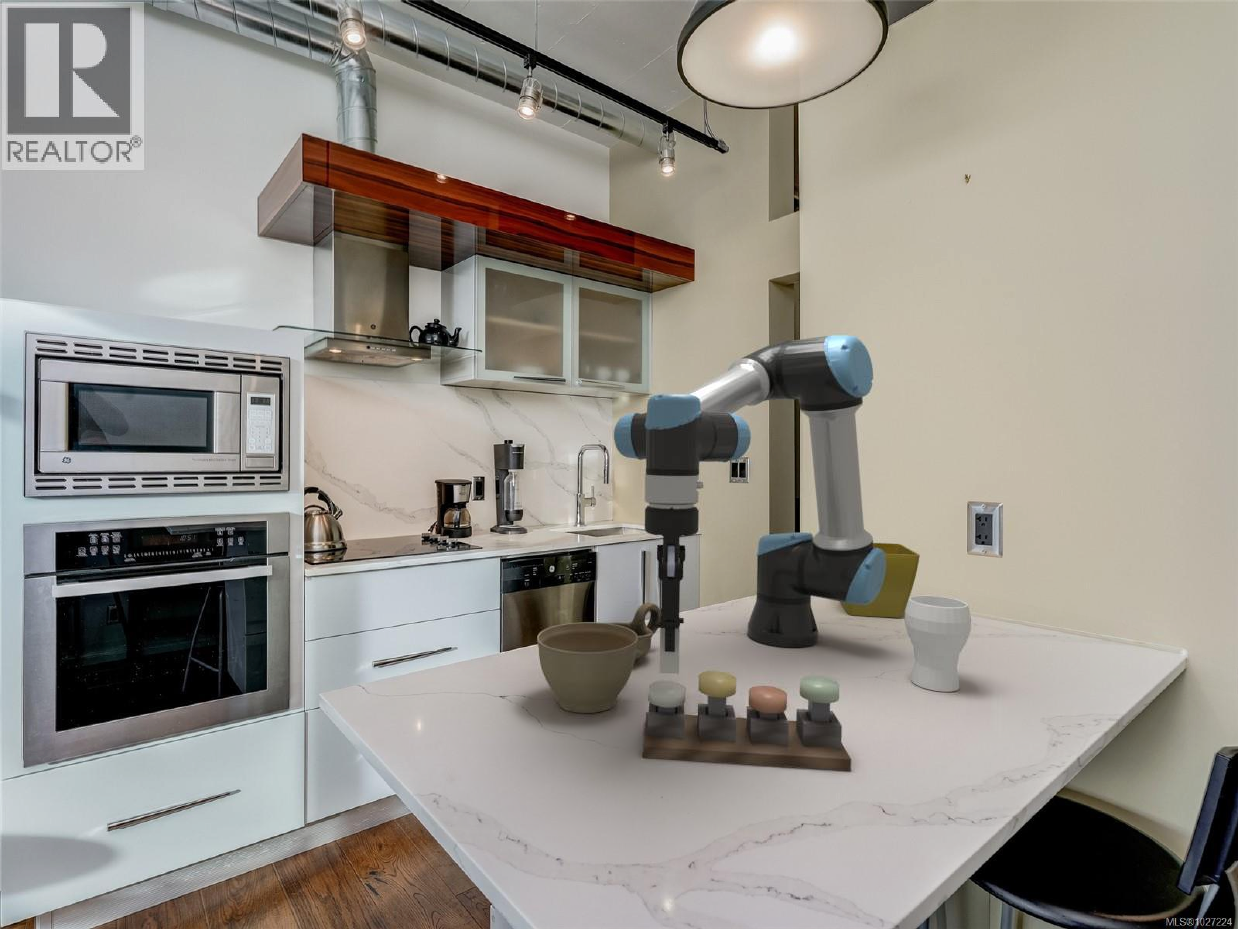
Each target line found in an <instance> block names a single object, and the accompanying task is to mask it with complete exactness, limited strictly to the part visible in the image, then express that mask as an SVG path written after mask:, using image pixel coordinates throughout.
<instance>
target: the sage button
mask: <svg viewBox="0 0 1238 929" xmlns="http://www.w3.org/2000/svg"><path fill="white" fill-rule="evenodd" d="M799 682H800V683H799V695H800V696H801V698H803V699H805V700H807V702H808V704H807V705H808V706H807V709H808V718H809V720H810V721H816V722H830V711H831V704H833V703H836V702H837V703H838V701H839V700H840V688H841V687H840V686H841V685H840V683H839V682H837V681H836V680H834V679H832V678H828V677H824V676H820V675H818V676H817V675H811V676H810V675H809V676H808V675H807V676H803V677H802V678H800V680H799Z"/></svg>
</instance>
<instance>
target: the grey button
mask: <svg viewBox="0 0 1238 929" xmlns="http://www.w3.org/2000/svg"><path fill="white" fill-rule="evenodd" d="M647 693H648V694H647V695H648V696H647V697H648V701H649V702H650V703H652V704H654V705H656V706H658V712H659V713H675V707H678V706H681V705H683V704H684V705H685V703H686V686H685V685H684V684H683V683H680V682H677V681H674V680H656V681H653V682H651V683H649V685H648V692H647ZM649 702H648V703H649Z"/></svg>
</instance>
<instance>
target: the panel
mask: <svg viewBox="0 0 1238 929" xmlns="http://www.w3.org/2000/svg"><path fill="white" fill-rule="evenodd" d="M707 706H708V703H700V702H699V703H698V702H697V714H685V703H684V704H683V705H681V706H678V707H675V713H659V712H658V706H656V705H654V704H652V703H650V702H648V712H645V723H644V731H643V732H644V733H643V743H642V758H645V759H647V758H648V759H661V760H678V761H691V762H692V761H693V762H694V761H695V762H710V763H721V764H723V763H726V764H742V765H755V766H771V767H772V766H773V767H785V768H786V767H787V768H790V767H791V768H802V769H803V768H805V769H819V770H836V771H852V759H851V758H852V757H850V755H849V753H848V751H847V750H846V748H845V747H844V745H843V742H842V737H843V736H842V733H843V732H842V731H843V725H842V724H841V723H840V720H839V719H838V718H837V716H836V714H835V712H834V711H833V710H830V722H816V721H810V720H809V718H808V708H807V709H806V708H796V714H795V715H796V716H795V717H796V719H795V720H788V719H787V718H788V717H787V715H786V713H785V711H784V712H781V713H778V715H777V719H763V718H758V717H757V710H754V709H752V708H751V707H750V706H749V705H747V706H746V717H736V713H735V708H734V705H733V704H726V716H711V715H708V712H707Z"/></svg>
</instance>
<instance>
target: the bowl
mask: <svg viewBox="0 0 1238 929" xmlns="http://www.w3.org/2000/svg"><path fill="white" fill-rule="evenodd" d="M648 613H650V616H649V620H648V622H647V624H646V616H647V614H648ZM660 621H661V609H660V607H659V606H658V605H656V603H652V602H645V603H643V604H641V605H640V606H639V607H638V608H637V610H636V611H635V614H634V617H633V619H632V621H631V622H628V621H627V622H607V623H608V624H614V625H619V626H623V627H626V628H628V629H630V630H632V631H634V632H635V633H636V634H637V636H638V643H637V646H636V656H635V660H637V659H639V658H642V657H644V656H645V655H647V654H648V653H649V652H650V649H651V646H652V638H653V637H654V634H655V633H656V632H657V631H658V629H659V628H656V622H660Z"/></svg>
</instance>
